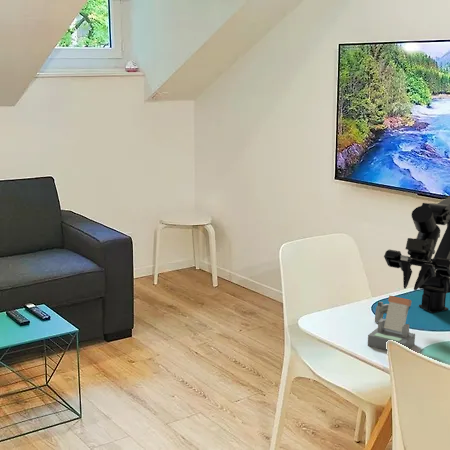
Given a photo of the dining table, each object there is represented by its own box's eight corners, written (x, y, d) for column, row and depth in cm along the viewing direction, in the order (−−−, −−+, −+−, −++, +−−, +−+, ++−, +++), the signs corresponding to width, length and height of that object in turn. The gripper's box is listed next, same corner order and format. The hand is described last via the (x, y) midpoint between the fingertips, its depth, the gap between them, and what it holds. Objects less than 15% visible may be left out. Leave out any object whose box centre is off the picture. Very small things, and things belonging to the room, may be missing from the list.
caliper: (378, 324, 208) (379, 304, 206) (374, 323, 209) (375, 303, 207) (409, 305, 223) (410, 286, 222) (405, 304, 224) (407, 285, 222)
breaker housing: (379, 336, 199) (380, 315, 197) (414, 344, 193) (415, 323, 192) (367, 345, 192) (368, 324, 191) (403, 354, 187) (404, 332, 185)
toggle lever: (385, 328, 195) (391, 296, 196) (404, 332, 192) (411, 300, 193) (382, 327, 193) (389, 295, 194) (402, 331, 190) (409, 299, 191)
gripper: (388, 222, 204) (370, 268, 198) (453, 231, 194) (437, 280, 188) (397, 242, 213) (380, 288, 206) (460, 252, 202) (444, 300, 196)
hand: (409, 288), depth 199 cm, fingers open, 3 cm apart
